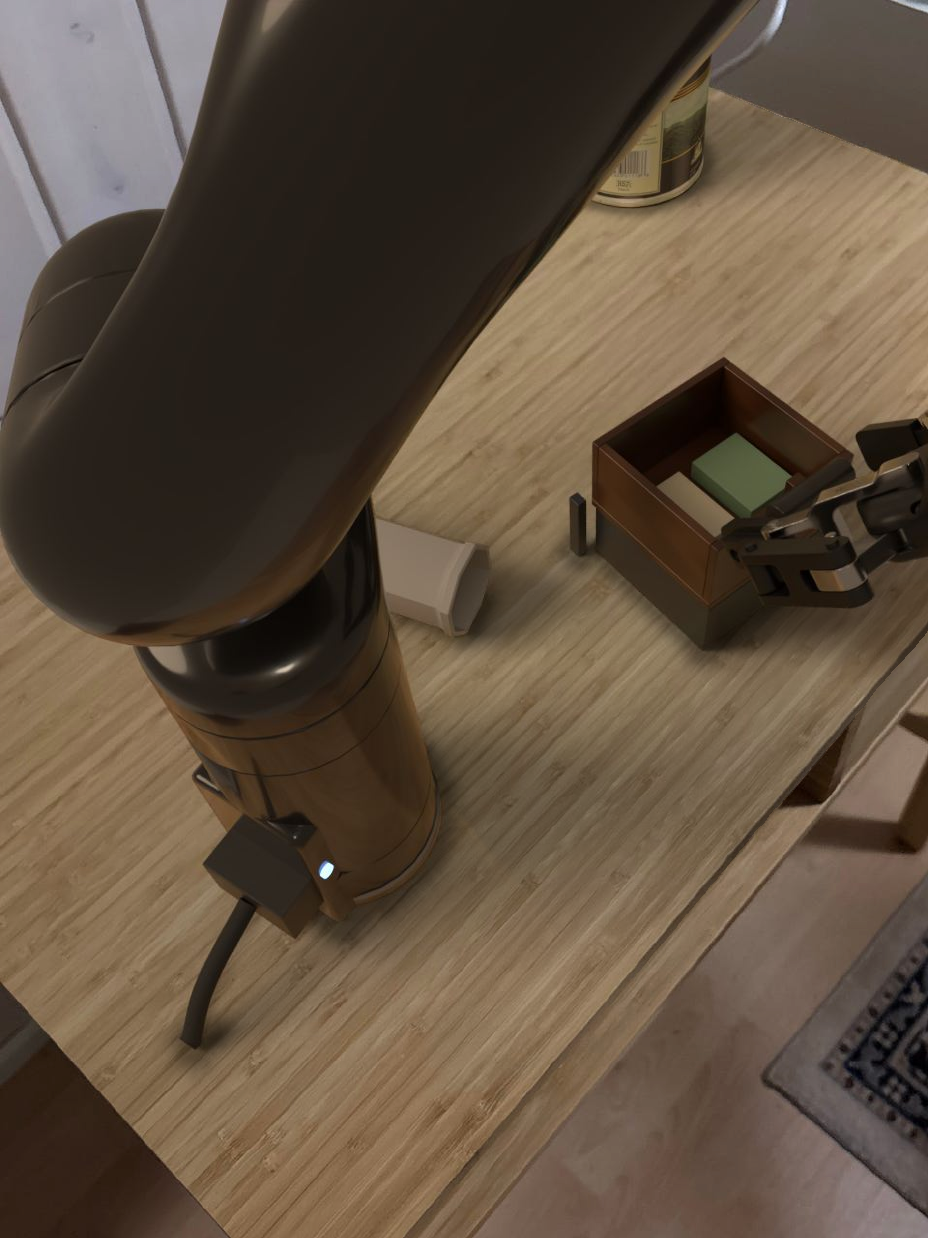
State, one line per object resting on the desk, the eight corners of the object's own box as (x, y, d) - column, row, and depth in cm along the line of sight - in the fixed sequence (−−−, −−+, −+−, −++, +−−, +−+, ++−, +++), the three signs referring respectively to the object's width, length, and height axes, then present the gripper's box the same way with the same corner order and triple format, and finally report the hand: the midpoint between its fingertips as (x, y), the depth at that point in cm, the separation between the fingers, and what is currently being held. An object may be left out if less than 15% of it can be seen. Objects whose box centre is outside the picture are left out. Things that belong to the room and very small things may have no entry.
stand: (834, 554, 63) (850, 501, 59) (689, 662, 60) (695, 613, 57) (710, 453, 68) (717, 398, 64) (569, 548, 65) (568, 497, 61)
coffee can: (675, 108, 87) (689, -89, 75) (724, 189, 81) (747, -10, 69) (544, 138, 86) (537, -56, 75) (583, 222, 81) (583, 26, 69)
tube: (48, 494, 66) (440, 623, 58) (87, 412, 67) (478, 528, 59) (97, 526, 71) (464, 649, 63) (132, 449, 72) (498, 561, 64)
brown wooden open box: (862, 539, 59) (894, 443, 53) (733, 634, 56) (751, 545, 50) (714, 421, 64) (728, 322, 58) (591, 504, 62) (592, 409, 56)
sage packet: (793, 494, 60) (796, 479, 59) (748, 526, 59) (751, 511, 58) (733, 446, 62) (736, 431, 61) (690, 476, 61) (691, 461, 60)
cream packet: (735, 535, 59) (738, 520, 58) (689, 567, 58) (691, 553, 57) (677, 485, 61) (678, 470, 60) (631, 516, 60) (632, 501, 59)
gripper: (1205, 276, 39) (876, 349, 54) (915, 490, 35) (648, 504, 50) (1274, 468, 41) (937, 487, 56) (1005, 691, 37) (722, 646, 52)
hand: (801, 495), depth 53 cm, fingers open, 8 cm apart
